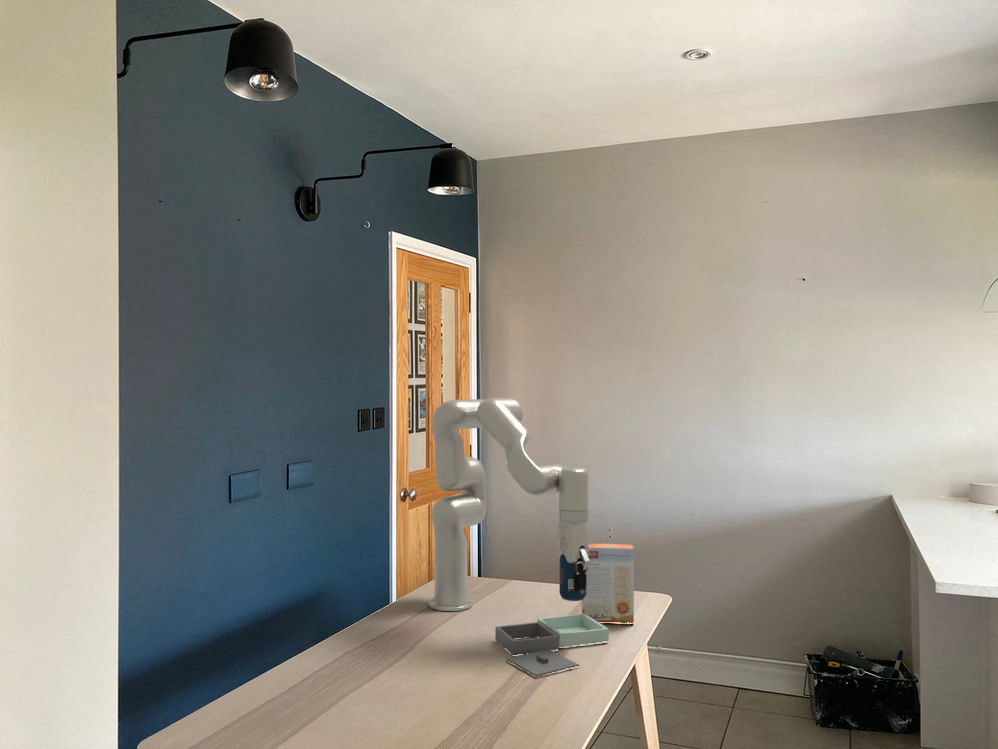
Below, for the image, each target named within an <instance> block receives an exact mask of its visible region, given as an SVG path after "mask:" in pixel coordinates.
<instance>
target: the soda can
mask: <svg viewBox="0 0 998 749" xmlns="http://www.w3.org/2000/svg"><path fill="white" fill-rule="evenodd" d="M563 553H564V552H563ZM577 561H582V559H581V558H578V559H577ZM580 565H582V564H578V568H579V567H580ZM574 574H575V569H574V563H573V564H571V563H568V562H567V560H566V557H565V555H564V554H562V555H561V556H560V558H559V595H560V597H561V598H562V600H564V601H567V602H580V601H581V602H582V600H583V599H584V598H585V596H586V594H587V574H586V589H585V590H574Z"/></svg>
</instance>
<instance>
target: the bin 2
mask: <svg viewBox="0 0 998 749" xmlns="http://www.w3.org/2000/svg"><path fill="white" fill-rule="evenodd" d="M536 622H540V623H541V624H543V625H544V626H546V627H547V628H548V629H550V630H551V631H552V632H554V633H555V634H556V635H558V636H559V647H564V646H571V645H580V644H588V643H596V642H602V641H609V642H610V640H609V639H610V638H609V636H610V635H609V634H610V629H609V628H608V627H606V626H605V625H604V624H600V623H599V622H597V621H595V620H594V619H592V618H591V617H589V616H587V615H586V614H582V613H576V614H568V615H567V614H566V615H558V616H548V617H547V616H546V617H539V618H538V617H537V621H536ZM583 628H585V629H583Z"/></svg>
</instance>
